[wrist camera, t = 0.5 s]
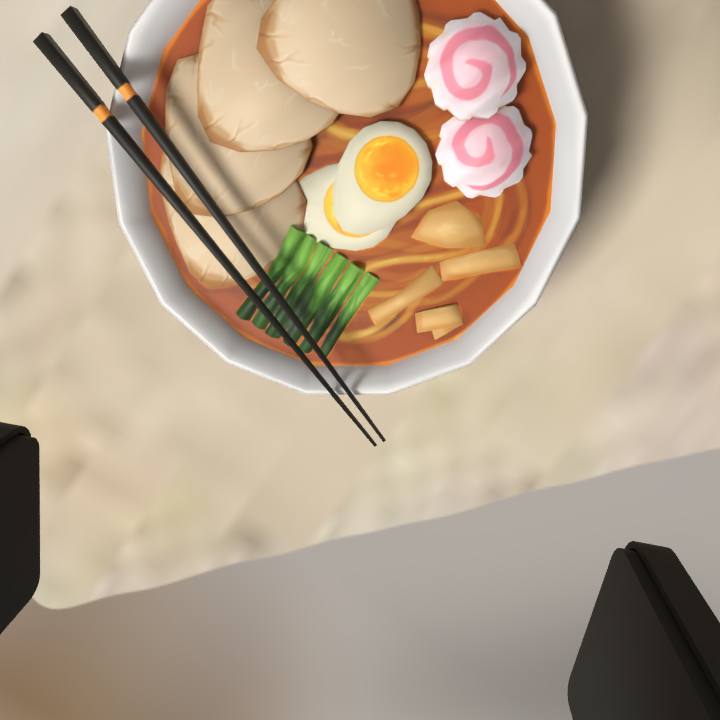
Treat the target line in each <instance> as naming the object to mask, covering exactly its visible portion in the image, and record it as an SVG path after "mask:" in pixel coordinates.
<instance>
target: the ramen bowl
mask: <svg viewBox="0 0 720 720" xmlns="http://www.w3.org/2000/svg"><path fill="white" fill-rule="evenodd" d="M61 16H62V18H63V19H64V20H65V22H66V23H67V24H68V26H69V27H70V28H71V30H72V31H73V32H74V34H75V35H76V36H77V38H78V39H79V40H80V42H81V43H82V44H83V46H84V47H85V48H86V50H87V51H88V52H89V53H90V55H91V56H92V57H93V59H94V60H95V61H96V63H97V64H98V65H99V67H100V68H101V69H102V71H103V72H104V73H105V75H106V76H107V77H108V79H109V80H110V81H111V83H112V84H113V85H114V87H115V90H114V95H113V99H112V103H111V107H110V111H109V110H108V108H107V106H106V105H105V103H104V102H103V101H102V100H101V98H100V97H99V96H98V95H97V93H96V92H95V91H94V90H93V88H92V87H91V86H90V85H89V83H88V82H87V81H86V80H85V78H84V77H83V76H82V75H81V73H80V72H79V71H78V70H77V68H76V67H75V66H74V65H73V63H72V62H71V61H70V60H69V58H68V57H67V56H66V55H65V53H64V52H63V51H62V50H61V48H60V47H59V46H58V45H57V43H56V42H55V41H54V40H53V38H52V37H51V36H50V35H49V34H46V33H43V32H42V33H41V34H40V35H39V36H38V37H37V38H36V39H35V40H34V41H33V42H34V43H35V45H36V46H37V47H38V48H39V49H40V51H41V52H42V53H43V54H44V55H45V56H46V58H47V59H48V60H49V61H50V62H51V64H52V65H53V66H54V67H55V68H56V70H57V71H58V72H59V73H60V74H61V75H62V77H63V78H64V79H65V80H66V81H67V83H68V84H69V85H70V86H71V87H72V88H73V90H74V91H75V92H76V93H77V94H78V96H79V97H80V98H81V99H82V100H83V102H84V103H85V104H86V105H87V106H88V107H89V109H90V110H91V111H92V112H93V113H94V114H95V115H96V116H98V118H99V119H100V121H101V123H102V124H103V125H104V126H105V129H106V136H107V143H108V150H109V157H110V164H111V171H112V178H113V185H114V192H115V199H116V206H117V213H118V220H119V224H120V226H121V228H122V230H123V232H124V234H125V236H126V238H127V240H128V242H129V244H130V246H131V247H132V249H133V251H134V253H135V255H136V257H137V259H138V261H139V263H140V265H141V267H142V269H143V271H144V272H145V274H146V276H147V278H148V280H149V282H150V284H151V286H152V288H153V290H154V292H155V294H156V296H157V297H158V299H159V301H160V303H161V305H162V306H164V307H165V308H166V309H167V310H168V311H169V312H170V313H171V314H173V315H174V316H175V317H176V318H177V319H178V320H179V321H180V322H182V323H183V324H184V325H185V326H186V327H187V328H188V329H189V330H191V331H192V332H193V333H194V334H195V335H196V336H197V337H198V338H200V339H201V340H202V341H203V342H204V343H205V344H206V345H207V346H209V347H210V348H211V349H212V350H213V351H214V352H215V353H216V354H218V355H219V356H220V357H221V358H222V359H223V360H224V361H225V362H227V363H229V364H232V365H234V366H237V367H239V368H242V369H244V370H246V371H249V372H251V373H254V374H256V375H259V376H261V377H264V378H266V379H269V380H271V381H274V382H276V383H279V384H281V385H283V386H286V387H288V388H291V389H293V390H296V391H298V392H301V393H303V394H331V395H332V397H333V398H334V399H335V400H336V401H337V403H338V404H339V405H340V406H341V407H342V409H343V410H344V411H345V412H346V413H347V414H348V416H349V417H350V418H351V419H352V420H353V422H354V423H355V424H356V425H357V426H358V427H359V429H360V430H361V431H362V432H363V433H364V435H365V436H366V437H367V438H368V439H369V441H370V442H371V443H372V444H373V445H374V446H377V444H376V443H375V442H374V440H373V439H372V438H371V437H370V435H369V434H368V433H367V432H366V430H365V429H364V428H363V427H362V425H361V424H360V423H359V422H358V420H357V419H356V418H355V417H354V415H353V414H352V413H351V412H350V410H349V409H348V408H347V407H346V405H345V404H344V403H343V402H342V400H341V399H340V398H339V397H338V395H337V394H348V396H349V397H350V398H351V400H352V401H353V402H354V404H355V405H356V406H357V408H358V409H359V410H360V412H361V413H362V414H363V416H364V417H365V418H366V420H367V421H368V422H369V424H370V425H371V426H372V428H373V429H374V430H375V432H376V433H377V434H378V435H379V437H380V438H381V439H382V441H383V442H384V441H385V438H384V437H383V436H382V434H381V433H380V431H379V430H378V429H377V427H376V426H375V424H374V423H373V422H372V420H371V419H370V417H369V416H368V415H367V413H366V412H365V410H364V409H363V408H362V406H361V405H360V403H359V402H358V401H357V399H356V398H355V396H354V395H353V394H369V395H389V394H392V393H395V392H397V391H400V390H403V389H406V388H408V387H411V386H414V385H417V384H419V383H422V382H425V381H427V380H430V379H433V378H436V377H438V376H441V375H444V374H447V373H449V372H452V371H455V370H457V369H460V368H463V367H466V366H468V365H470V364H471V363H473V362H474V361H475V360H476V359H477V358H478V357H479V356H480V355H481V354H482V353H483V352H485V351H486V350H487V349H488V348H489V347H490V346H491V345H492V344H493V343H494V342H496V341H497V340H498V339H499V338H500V337H501V336H502V335H503V334H504V333H505V332H506V331H508V330H509V329H510V328H511V327H512V326H513V325H514V324H515V323H516V322H517V321H519V320H520V319H521V318H522V317H523V316H524V315H525V314H526V313H527V312H528V311H529V310H531V309H532V308H533V307H534V306H535V305H536V304H537V302H538V300H539V298H540V296H541V294H542V292H543V290H544V288H545V287H546V285H547V283H548V281H549V279H550V277H551V275H552V273H553V271H554V269H555V267H556V265H557V263H558V261H559V259H560V257H561V255H562V253H563V251H564V249H565V247H566V245H567V243H568V241H569V240H570V238H571V236H572V234H573V232H574V230H575V228H576V226H577V224H578V222H579V220H580V217H581V204H582V191H583V179H584V166H585V154H586V141H587V128H588V113H587V110H586V106H585V103H584V100H583V97H582V93H581V90H580V87H579V84H578V80H577V77H576V74H575V70H574V67H573V64H572V61H571V57H570V54H569V51H568V47H567V44H566V41H565V38H564V34H563V31H562V28H561V24H560V21H559V18H558V15H557V13H556V12H555V11H554V10H553V8H552V7H551V6H550V5H549V4H548V3H547V2H546V1H545V0H151V1H150V2H149V4H148V5H147V6H146V8H145V9H144V11H143V12H142V13H141V15H140V16H139V18H138V19H137V20H136V22H135V23H134V25H133V26H132V27H131V29H130V30H129V33H128V37H127V41H126V45H125V50H124V54H123V58H122V62H121V66H120V68H119V67H118V65H117V64H116V62H115V61H114V60H113V58H112V57H111V55H110V54H109V53H108V51H107V50H106V48H105V47H104V46H103V44H102V43H101V41H100V40H99V39H98V37H97V36H96V34H95V33H94V32H93V30H92V29H91V27H90V26H89V25H88V23H87V22H86V20H85V19H84V18H83V16H82V15H81V13H80V12H79V11H78V9H76V8H74V7H72V6H70V7H69V8H67V9H66V10H65V11H64V12H63V13H62V14H61Z"/></svg>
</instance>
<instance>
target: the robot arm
mask: <svg viewBox="0 0 720 720" xmlns="http://www.w3.org/2000/svg"><path fill="white" fill-rule="evenodd" d="M39 579H40V484H39V443H38V441H37V439H36V438H33V437H31V434H30V432H29V430H28V429H27V428H26V427H23V426H18V425H13V424H7V423H2V422H0V634H1V633H2V632H3V631H4V629H5V628H6V627H7V626H8V625H9V623H10V622H11V621H12V620H13V619H14V618H15V617H16V615H17V614H18V613H19V612H20V611H21V610H22V609H23V607H24V606H25V605H26V604H27V603H28V602H29V600H30V599H31V598H32V596H33V595H34V593H35V591H36V588H37V586H38V583H39ZM568 702H569V706H570V710H571V714H572V718H573V720H720V623H719V621H718V620H717V618H716V616H715V615H714V613H713V612H712V610H711V609H710V607H709V606H708V604H707V602H706V601H705V599H704V598H703V596H702V595H701V593H700V592H699V590H698V588H697V587H696V585H695V584H694V582H693V581H692V579H691V578H690V576H689V575H688V573H687V572H686V570H685V568H684V567H683V565H682V564H681V562H680V561H679V559H678V557H677V556H676V554H675V553H674V552H673V551H672V550H671V549H670V548H667V547H662V546H656V545H651V544H646V543H641V542H635V541H632V542H630V543H628V545H627V546H626V547H625V549H622V548H617V549H616V550H615V551H614V553H613V555H612V557H611V560H610V563H609V566H608V569H607V572H606V575H605V578H604V581H603V584H602V586H601V589H600V592H599V595H598V598H597V601H596V603H595V607H594V609H593V612H592V615H591V618H590V621H589V624H588V627H587V629H586V632H585V635H584V638H583V641H582V644H581V647H580V649H579V652H578V655H577V658H576V661H575V664H574V667H573V670H572V672H571V675H570V679H569V684H568Z"/></svg>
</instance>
